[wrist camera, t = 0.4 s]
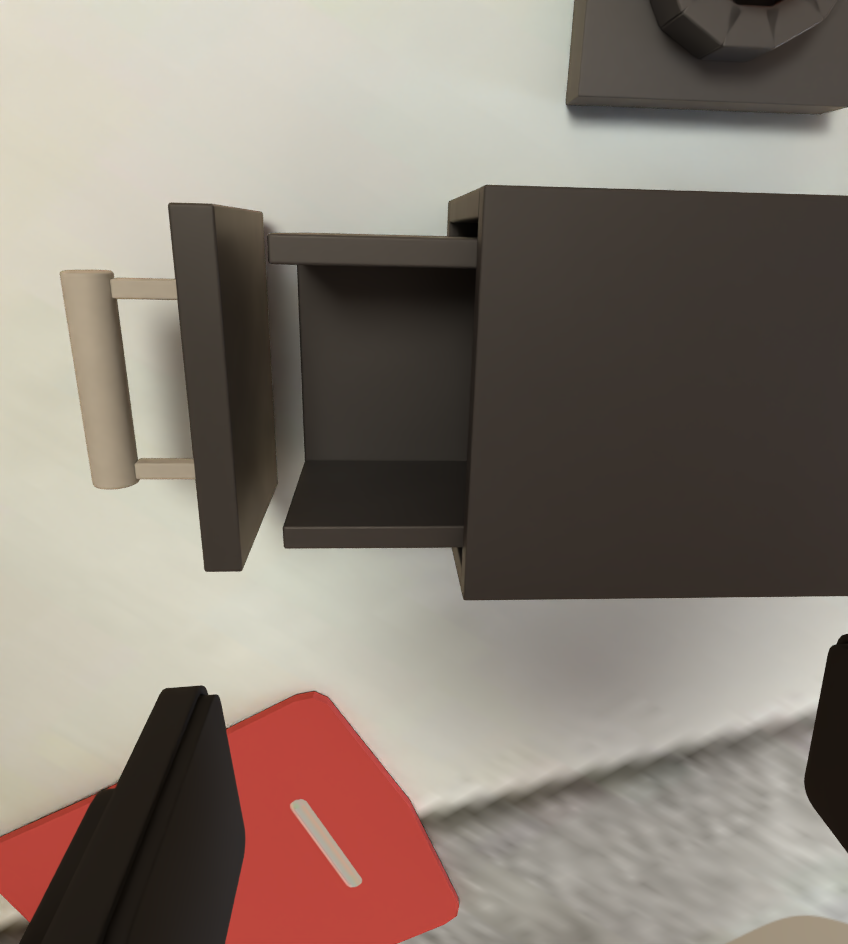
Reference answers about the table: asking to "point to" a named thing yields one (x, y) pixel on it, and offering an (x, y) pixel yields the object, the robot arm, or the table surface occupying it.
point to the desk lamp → (293, 839)
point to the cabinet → (655, 394)
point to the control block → (710, 55)
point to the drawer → (323, 381)
